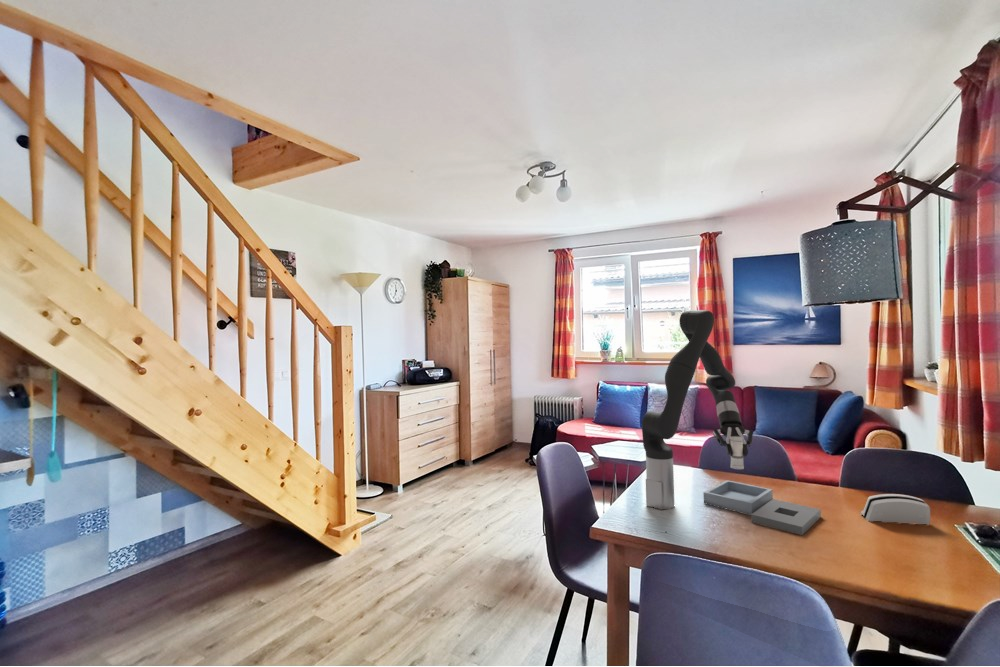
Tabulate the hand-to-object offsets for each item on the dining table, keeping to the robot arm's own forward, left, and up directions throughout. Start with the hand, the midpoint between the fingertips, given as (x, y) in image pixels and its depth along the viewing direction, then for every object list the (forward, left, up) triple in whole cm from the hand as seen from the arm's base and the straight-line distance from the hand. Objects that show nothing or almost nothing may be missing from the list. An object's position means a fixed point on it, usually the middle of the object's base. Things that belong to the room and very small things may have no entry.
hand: (738, 455), depth 163 cm
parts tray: (+2, +1, -17) cm, 17 cm away
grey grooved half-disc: (+17, -40, -18) cm, 47 cm away
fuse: (+2, +1, -5) cm, 5 cm away
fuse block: (-4, -16, -17) cm, 24 cm away
